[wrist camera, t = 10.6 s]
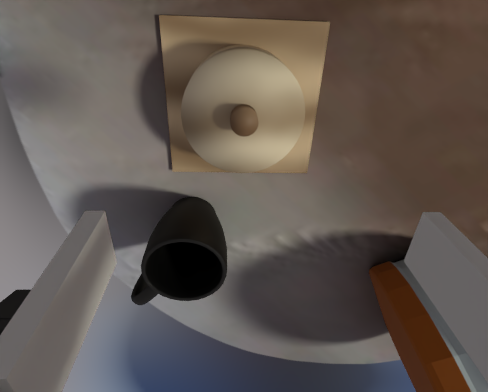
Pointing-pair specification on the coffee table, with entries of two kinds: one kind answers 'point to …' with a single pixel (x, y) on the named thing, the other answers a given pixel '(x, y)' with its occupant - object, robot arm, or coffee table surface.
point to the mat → (240, 33)
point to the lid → (242, 109)
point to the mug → (183, 254)
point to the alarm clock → (422, 334)
